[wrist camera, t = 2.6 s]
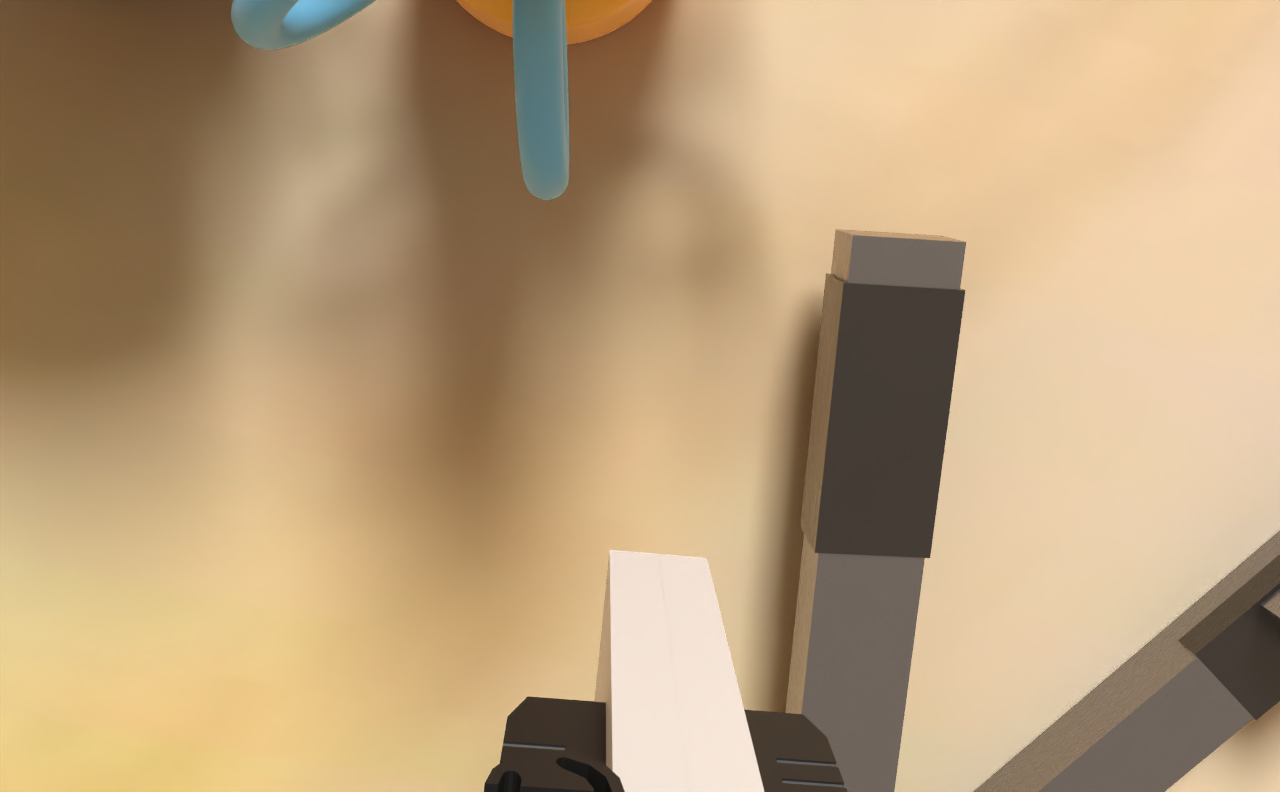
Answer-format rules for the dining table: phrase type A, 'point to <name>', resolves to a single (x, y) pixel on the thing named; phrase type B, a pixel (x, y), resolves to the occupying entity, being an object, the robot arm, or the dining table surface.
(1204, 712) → the tongs fixed
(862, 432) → the tongs arm
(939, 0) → the dining table surface
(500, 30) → the cylinder
